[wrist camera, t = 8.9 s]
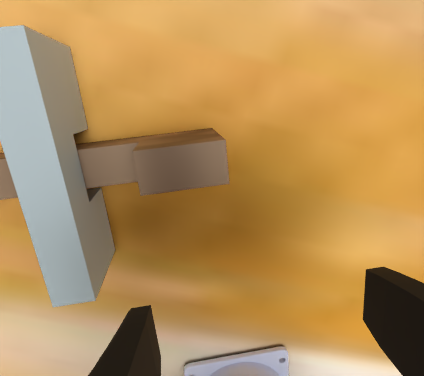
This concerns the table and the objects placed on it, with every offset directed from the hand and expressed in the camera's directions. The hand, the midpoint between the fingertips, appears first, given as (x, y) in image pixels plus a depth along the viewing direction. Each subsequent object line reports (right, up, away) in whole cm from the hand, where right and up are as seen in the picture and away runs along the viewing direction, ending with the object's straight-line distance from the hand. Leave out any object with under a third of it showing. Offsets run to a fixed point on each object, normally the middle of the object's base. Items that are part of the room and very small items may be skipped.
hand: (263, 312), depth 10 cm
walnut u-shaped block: (-10, +6, +8) cm, 13 cm away
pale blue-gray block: (-10, +6, +8) cm, 13 cm away
